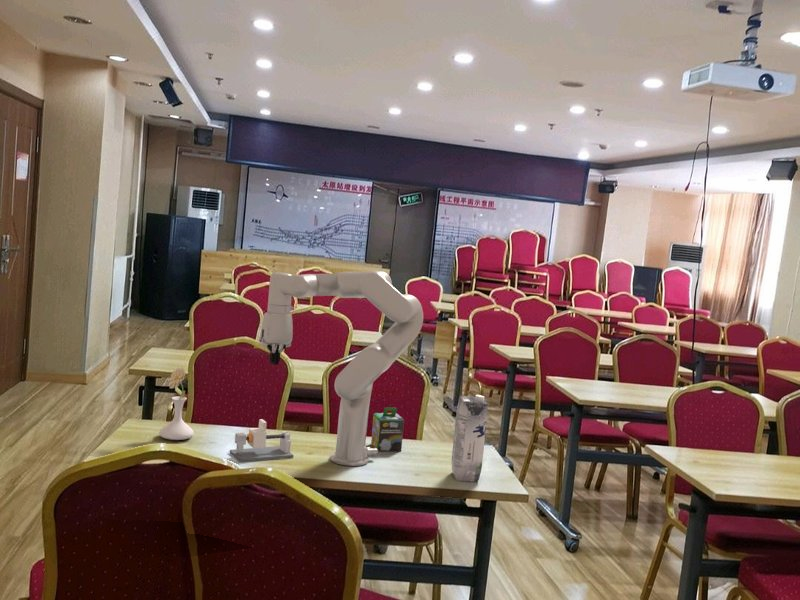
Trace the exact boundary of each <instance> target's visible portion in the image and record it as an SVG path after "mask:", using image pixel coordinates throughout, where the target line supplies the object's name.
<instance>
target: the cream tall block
mask: <svg viewBox="0 0 800 600" xmlns="http://www.w3.org/2000/svg"><path fill="white" fill-rule="evenodd" d="M267 423H268V422H267V421H265V419H263V418H261V419H259V420H258V427H251V428H248V434H250V433H251V434H252V436H253V440H252V443H248V442H247V444H248V445H249V446H251V448H262V447H266V445H267V439H266V435H267V433H268V432H267Z"/></svg>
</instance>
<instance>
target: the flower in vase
mask: <svg viewBox="0 0 800 600" xmlns="http://www.w3.org/2000/svg"><path fill="white" fill-rule="evenodd" d="M185 375H186V369H185V368H184V367H183V366H182V367H180V366H178V368H176V369H175V370H173V371H172V372H171V374H170V377H169V378H168V383H167V386H168V387H169V390H170V389H175V390H174V391H175V392H176V393H177V394H178V395H180V396H177V395H176V396H172V397H171V400H172V402H173V404H174V405H173V406H174V415H173V419H172V420H171V421H170V422H169V423H167V424H165V425H164V426H162V428H160V430H159V432H158V434H159V436H160V437H161V438H164V439H166V440H172V441H183V440H188V439H190V438H192V437H193V436H194V435H195V432H194V429H192V427H190V425H188V424H187V423H186V422H185V421H184V420H183V418H182V412H183V407H184V404H185V402H186V401H187V399H188V398H187V397H186V396H185V395H186V390H184V385H183V381H184V379H185V377H186V376H185ZM180 385H181V389H180V388H179V386H180Z"/></svg>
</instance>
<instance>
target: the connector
mask: <svg viewBox="0 0 800 600" xmlns="http://www.w3.org/2000/svg"><path fill="white" fill-rule="evenodd" d="M246 437H247V434H246V433H244V432H235V435H234V443H235V444H236V448H235V449H236V454H238V455H243V449H244V446H245V445H247V440H246Z"/></svg>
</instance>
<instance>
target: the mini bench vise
mask: <svg viewBox="0 0 800 600" xmlns="http://www.w3.org/2000/svg"><path fill="white" fill-rule="evenodd" d="M281 434H285V436H284V438H279V445H278V446H265V447H260V448H253V447H250V448H243V455H238V454H236V448H235V449H229V454H230V455H231V456H232V457H233V458H234V459H236V460H237V461H238V462H239V463H246V462H247V463H248V462H260V461H261V462H262V461H273V459H275V460H281V459H280V458H287V459H293V458H294V454H293V453H292V452H291V444H292V441H291V434H290V433H288V431H281Z"/></svg>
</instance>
